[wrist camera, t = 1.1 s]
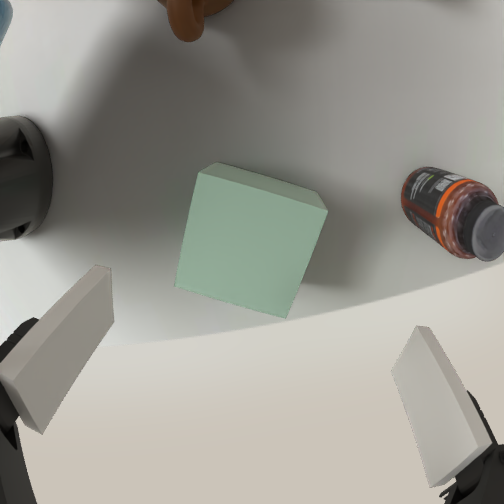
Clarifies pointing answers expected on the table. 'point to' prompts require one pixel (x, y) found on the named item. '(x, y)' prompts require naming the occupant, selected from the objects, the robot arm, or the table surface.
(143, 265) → the table surface
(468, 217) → the supplement bottle
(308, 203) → the sage green foam cube
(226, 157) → the table surface
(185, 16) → the mug
